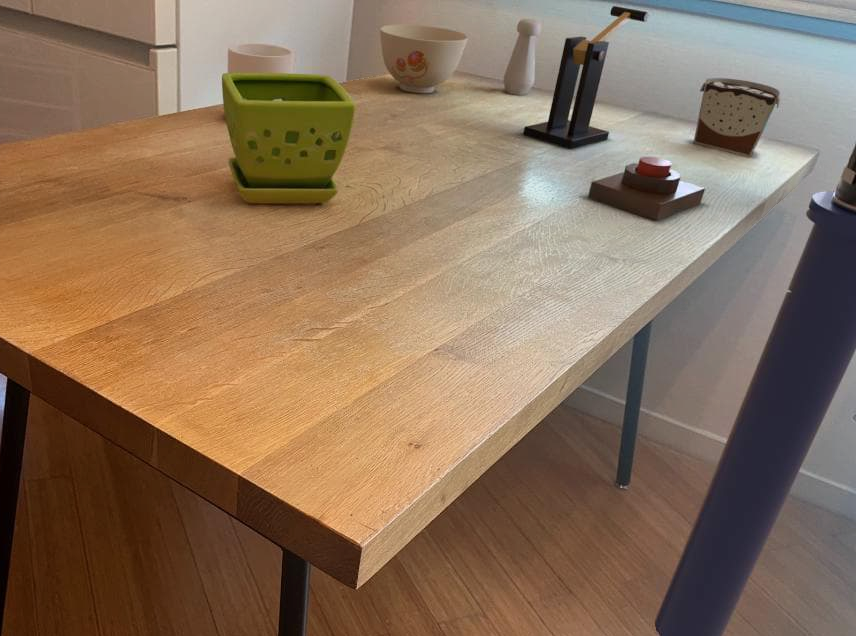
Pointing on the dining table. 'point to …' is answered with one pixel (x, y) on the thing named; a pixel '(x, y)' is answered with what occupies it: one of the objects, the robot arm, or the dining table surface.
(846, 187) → the robot arm
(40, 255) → the dining table surface
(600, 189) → the block
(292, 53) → the mug
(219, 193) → the dining table surface
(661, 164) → the button
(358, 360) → the dining table surface
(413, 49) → the bowl
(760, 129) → the food container
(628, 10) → the lever
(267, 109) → the flower pot
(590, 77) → the lock bracket
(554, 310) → the dining table surface
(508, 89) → the salt shaker
